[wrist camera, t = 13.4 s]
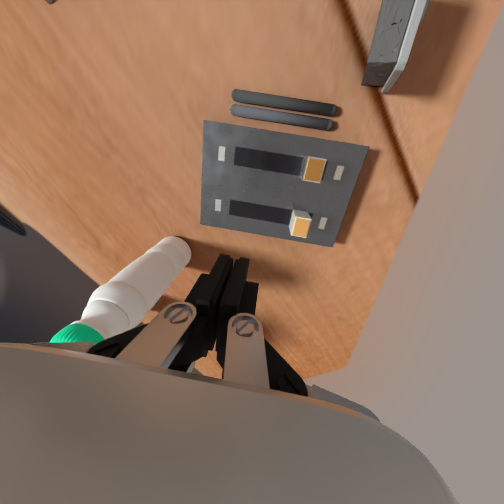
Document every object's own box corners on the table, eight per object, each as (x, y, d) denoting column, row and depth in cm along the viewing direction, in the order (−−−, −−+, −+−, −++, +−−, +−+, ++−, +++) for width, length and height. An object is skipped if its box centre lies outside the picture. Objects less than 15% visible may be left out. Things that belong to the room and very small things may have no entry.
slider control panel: (209, 122, 32) (191, 113, 25) (360, 147, 31) (385, 145, 24) (205, 219, 39) (190, 233, 32) (328, 240, 38) (340, 260, 31)
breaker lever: (293, 209, 33) (295, 217, 29) (307, 211, 33) (312, 219, 29) (288, 226, 35) (290, 235, 30) (302, 228, 34) (306, 238, 30)
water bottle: (184, 231, 41) (73, 326, 18) (197, 261, 43) (115, 376, 21) (154, 238, 42) (17, 335, 20) (168, 267, 45) (63, 380, 22)
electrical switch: (386, 95, 28) (423, 69, 20) (348, 93, 29) (368, 68, 21) (415, -2, 24) (477, -85, 16) (369, -1, 25) (406, -79, 17)
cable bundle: (233, 90, 30) (231, 87, 28) (336, 106, 29) (339, 104, 28) (231, 115, 31) (229, 114, 30) (329, 131, 31) (332, 130, 29)
